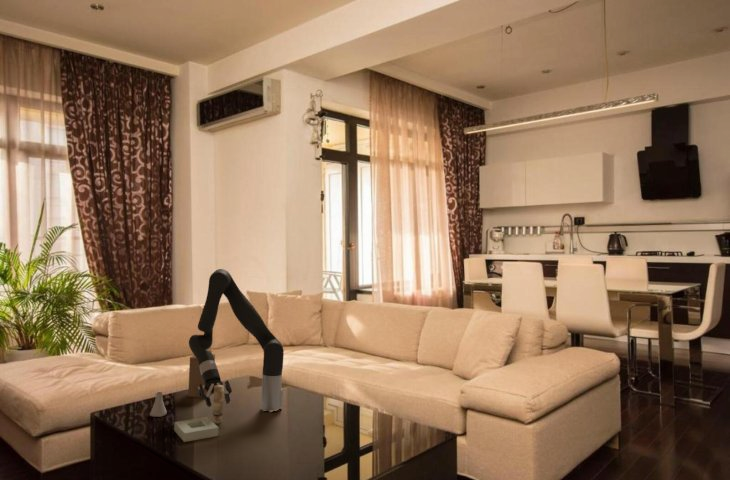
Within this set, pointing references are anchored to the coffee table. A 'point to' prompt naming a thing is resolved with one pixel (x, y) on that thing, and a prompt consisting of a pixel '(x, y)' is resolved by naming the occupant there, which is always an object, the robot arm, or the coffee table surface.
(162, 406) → the flask
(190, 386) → the wooden block
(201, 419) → the white flat square block
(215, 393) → the peg
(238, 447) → the coffee table surface
